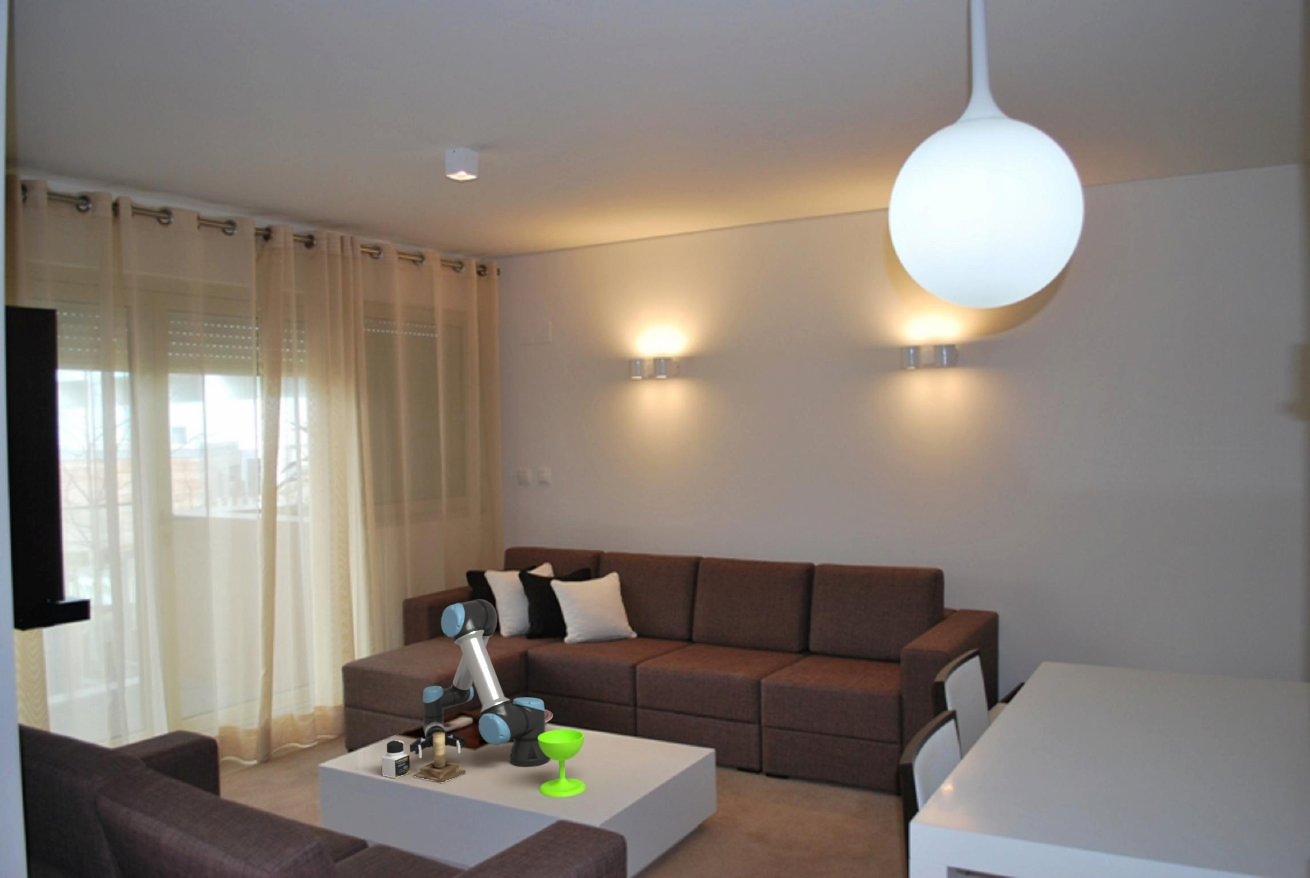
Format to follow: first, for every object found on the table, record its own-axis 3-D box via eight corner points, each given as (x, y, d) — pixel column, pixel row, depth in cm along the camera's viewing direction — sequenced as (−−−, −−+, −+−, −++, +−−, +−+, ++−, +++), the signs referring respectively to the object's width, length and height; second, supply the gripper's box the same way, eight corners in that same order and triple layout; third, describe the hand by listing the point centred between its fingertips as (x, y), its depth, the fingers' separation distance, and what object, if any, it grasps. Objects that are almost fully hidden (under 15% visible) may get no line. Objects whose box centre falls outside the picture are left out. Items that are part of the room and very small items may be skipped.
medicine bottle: (395, 779, 346) (394, 746, 346) (381, 776, 349) (380, 743, 349) (410, 773, 352) (409, 740, 352) (396, 770, 356) (395, 737, 356)
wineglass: (588, 794, 325) (587, 741, 326) (541, 799, 322) (539, 745, 322) (582, 778, 341) (581, 727, 341) (537, 783, 338) (535, 731, 338)
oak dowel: (448, 771, 349) (447, 733, 349) (440, 775, 346) (438, 736, 346) (439, 769, 352) (438, 731, 352) (431, 773, 348) (430, 734, 348)
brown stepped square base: (465, 773, 350) (465, 763, 350) (442, 783, 340) (442, 774, 340) (437, 767, 357) (437, 758, 357) (413, 777, 347) (413, 767, 347)
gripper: (469, 741, 369) (475, 757, 349) (401, 748, 362) (404, 766, 342) (468, 721, 369) (474, 737, 349) (401, 728, 362) (403, 745, 342)
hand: (440, 751), depth 345 cm, fingers open, 13 cm apart
